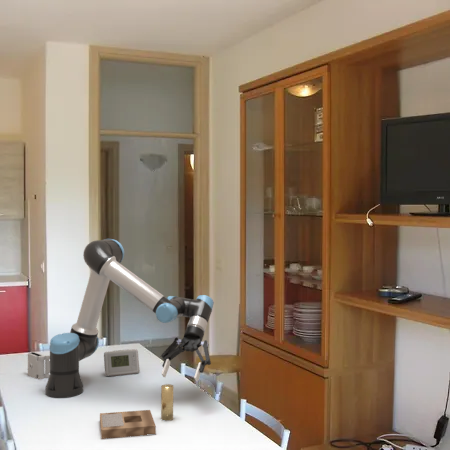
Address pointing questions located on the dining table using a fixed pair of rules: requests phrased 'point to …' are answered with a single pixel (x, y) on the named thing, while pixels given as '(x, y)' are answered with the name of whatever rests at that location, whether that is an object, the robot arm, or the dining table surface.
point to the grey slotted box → (38, 365)
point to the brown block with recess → (126, 424)
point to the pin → (167, 402)
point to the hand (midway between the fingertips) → (179, 377)
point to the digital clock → (121, 362)
